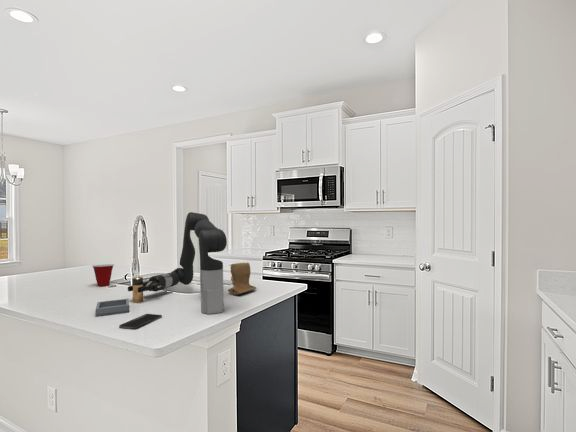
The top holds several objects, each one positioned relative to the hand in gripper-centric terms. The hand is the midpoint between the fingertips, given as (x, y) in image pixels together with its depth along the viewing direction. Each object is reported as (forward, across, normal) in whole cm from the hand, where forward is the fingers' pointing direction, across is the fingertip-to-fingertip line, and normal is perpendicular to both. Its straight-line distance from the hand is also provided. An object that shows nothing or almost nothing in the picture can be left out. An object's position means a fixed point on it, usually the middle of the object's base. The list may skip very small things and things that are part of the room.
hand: (133, 289), depth 157 cm
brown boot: (-34, +35, +6) cm, 49 cm away
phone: (+19, +25, +7) cm, 32 cm away
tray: (+12, +2, +6) cm, 14 cm away
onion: (-51, +24, +6) cm, 56 cm away
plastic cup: (-21, -46, +6) cm, 51 cm away
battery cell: (-3, 0, +6) cm, 7 cm away
